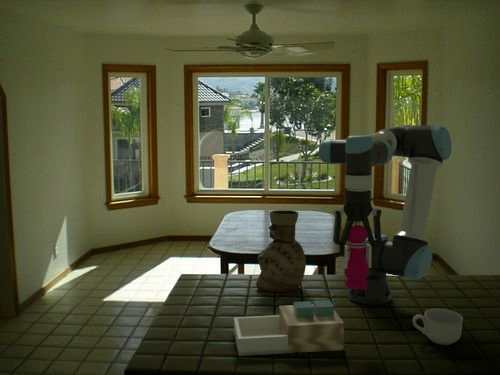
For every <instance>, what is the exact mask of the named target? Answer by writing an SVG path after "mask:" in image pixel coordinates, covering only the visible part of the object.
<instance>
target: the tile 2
mask: <svg viewBox="0 0 500 375" xmlns="http://www.w3.org/2000/svg"><path fill="white" fill-rule="evenodd" d="M312 304H313V307H314V313H315V315H316V316H317V317H327V316H334V310H335V306H334V304H333V303H332V302H331V300H328V299H327V300H315V301H314V300H313V303H312Z"/></svg>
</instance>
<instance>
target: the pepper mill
mask: <svg viewBox="0 0 500 375" xmlns="http://www.w3.org/2000/svg"><path fill="white" fill-rule="evenodd" d="M361 224H362V221H356V222H354V223H353V225H352V227H351V230H350V233H349V236H348V238H347V239H348V245H347V247H348V248H349V250H350V251H349V255H348V256H349V257H348V259H347V269H345V268H343V269H344V270H343V273H344V276H345V277H346V279H345V287H346V288H347V289H349V288H350V289H358V290H359V289H365V288H367V280H365V279H366V278H367V277H368V276H369V268H368V265H367V263H366V261H365V258H364V247H366V242H365V240H366V239H367V237H368V232H367V230H366V228H365V227H364V226H363V225H361Z"/></svg>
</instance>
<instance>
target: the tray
mask: <svg viewBox="0 0 500 375" xmlns="http://www.w3.org/2000/svg"><path fill="white" fill-rule="evenodd" d="M233 333H234V339H235V346H236V349H237V355H238V356H239V357H242V356H256V355H257V356H258V355H259V356H261V355H277V354H289V353H288V335H282V333H281V331H280V316H279V314H276V315H275V314H274V315H257V316H256V315H255V316H235V317H233Z"/></svg>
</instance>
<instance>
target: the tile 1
mask: <svg viewBox="0 0 500 375" xmlns="http://www.w3.org/2000/svg"><path fill="white" fill-rule="evenodd" d="M312 304H313V303H312V302H311V301H309V300H308V301H293V305H294V314H295V316H296V318H307V317H314V307H313V305H312Z"/></svg>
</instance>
